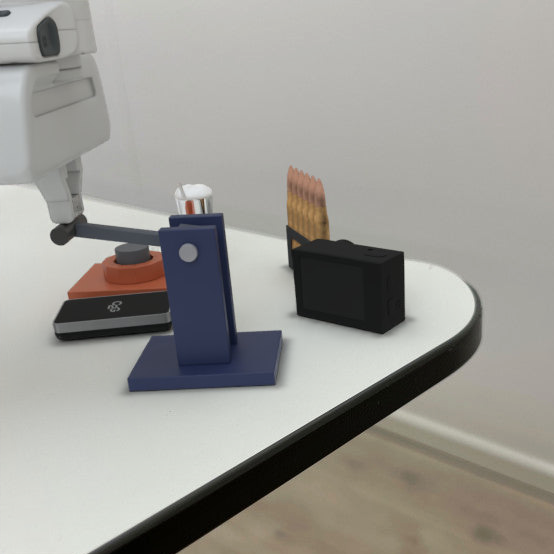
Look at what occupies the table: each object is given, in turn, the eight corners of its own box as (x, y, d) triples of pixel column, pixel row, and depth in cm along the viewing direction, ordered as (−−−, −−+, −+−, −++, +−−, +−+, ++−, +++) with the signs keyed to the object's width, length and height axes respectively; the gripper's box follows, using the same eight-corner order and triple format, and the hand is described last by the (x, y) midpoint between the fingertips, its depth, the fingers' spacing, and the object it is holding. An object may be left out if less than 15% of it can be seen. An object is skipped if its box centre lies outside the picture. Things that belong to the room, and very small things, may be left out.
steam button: (113, 268, 82) (110, 252, 81) (121, 258, 85) (119, 242, 84) (146, 266, 82) (144, 250, 81) (154, 256, 85) (151, 241, 84)
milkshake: (173, 263, 95) (161, 182, 90) (194, 251, 99) (184, 173, 95) (206, 265, 93) (196, 183, 89) (226, 253, 98) (217, 174, 94)
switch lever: (50, 250, 60) (48, 220, 59) (70, 233, 64) (69, 205, 63) (206, 268, 61) (207, 239, 60) (215, 250, 65) (217, 222, 64)
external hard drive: (68, 318, 79) (64, 299, 78) (177, 307, 80) (174, 289, 80) (55, 344, 73) (51, 324, 72) (174, 332, 74) (171, 313, 73)
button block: (71, 312, 80) (63, 275, 79) (98, 281, 90) (91, 248, 88) (185, 306, 81) (179, 270, 79) (200, 276, 90) (196, 243, 88)
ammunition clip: (288, 266, 92) (280, 164, 87) (302, 263, 93) (295, 163, 88) (320, 292, 83) (313, 181, 78) (336, 289, 84) (330, 179, 79)
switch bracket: (129, 391, 63) (101, 239, 57) (153, 347, 71) (130, 211, 66) (275, 385, 63) (260, 232, 58) (282, 341, 71) (270, 204, 66)
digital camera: (413, 315, 76) (412, 247, 73) (383, 334, 72) (381, 262, 69) (328, 298, 81) (324, 234, 78) (296, 315, 77) (291, 247, 74)
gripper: (37, 29, 65) (70, 192, 71) (-84, 38, 46) (-26, 258, 52) (112, 26, 65) (139, 189, 71) (20, 33, 46) (67, 253, 52)
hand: (68, 219), depth 61 cm, fingers closed, pressing on switch lever
